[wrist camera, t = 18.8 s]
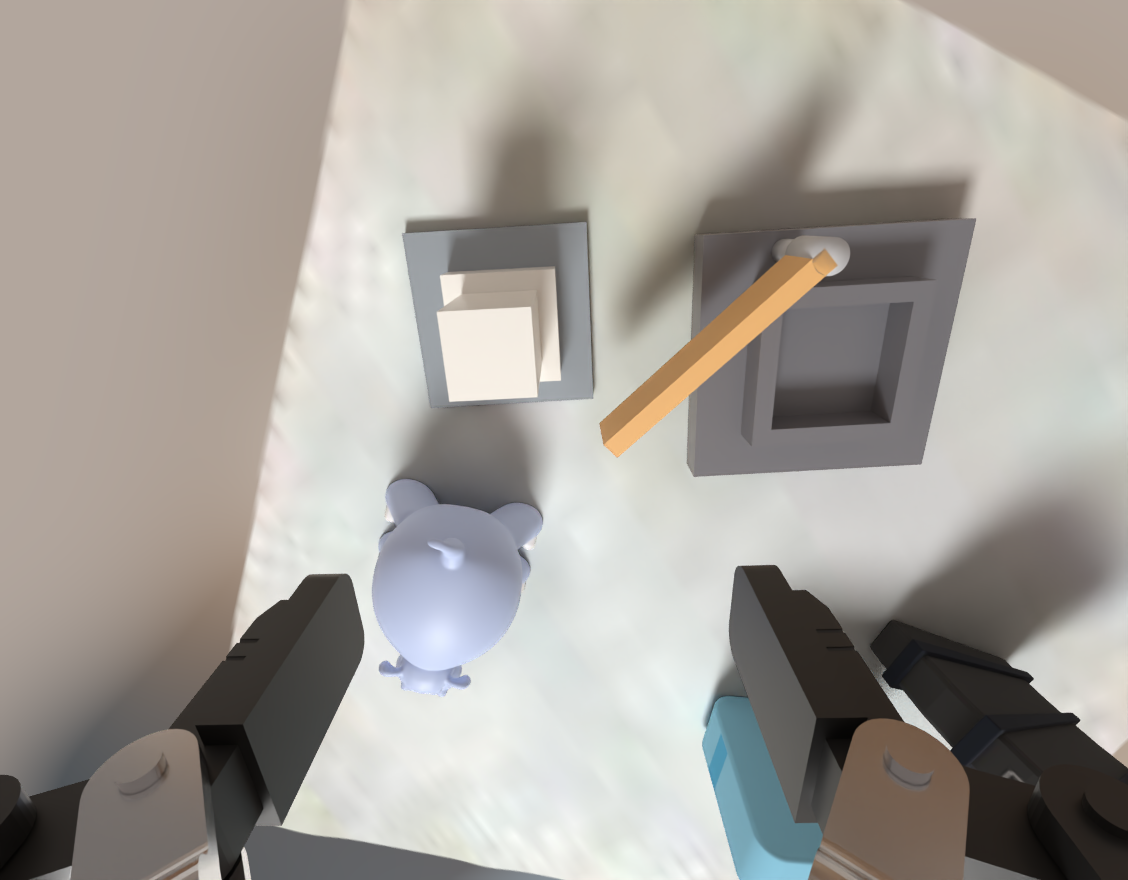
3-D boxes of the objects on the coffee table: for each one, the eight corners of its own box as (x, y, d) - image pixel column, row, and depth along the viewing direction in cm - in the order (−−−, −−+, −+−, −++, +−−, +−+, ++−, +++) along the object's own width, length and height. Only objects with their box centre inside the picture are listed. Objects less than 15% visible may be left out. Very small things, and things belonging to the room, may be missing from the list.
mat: (586, 221, 29) (586, 221, 28) (592, 395, 33) (593, 398, 32) (405, 233, 29) (401, 233, 28) (432, 404, 33) (430, 407, 32)
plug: (555, 266, 29) (553, 280, 22) (560, 371, 31) (561, 417, 24) (447, 272, 29) (409, 288, 22) (461, 376, 31) (430, 423, 24)
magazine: (869, 616, 37) (1130, 846, 26) (950, 611, 44) (1183, 790, 33) (840, 654, 39) (1075, 888, 27) (923, 643, 46) (1137, 826, 34)
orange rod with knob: (825, 253, 25) (857, 256, 23) (615, 438, 29) (621, 461, 26) (806, 228, 25) (836, 228, 22) (595, 419, 29) (599, 440, 26)
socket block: (949, 218, 29) (1008, 218, 25) (901, 451, 34) (944, 479, 30) (694, 234, 29) (714, 236, 25) (686, 463, 34) (702, 492, 31)
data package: (697, 731, 44) (743, 903, 33) (709, 692, 42) (763, 858, 31) (834, 744, 45) (925, 915, 34) (852, 705, 43) (954, 873, 32)
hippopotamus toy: (369, 621, 39) (314, 736, 31) (392, 443, 34) (334, 521, 25) (509, 647, 41) (495, 765, 32) (554, 479, 35) (552, 565, 26)
